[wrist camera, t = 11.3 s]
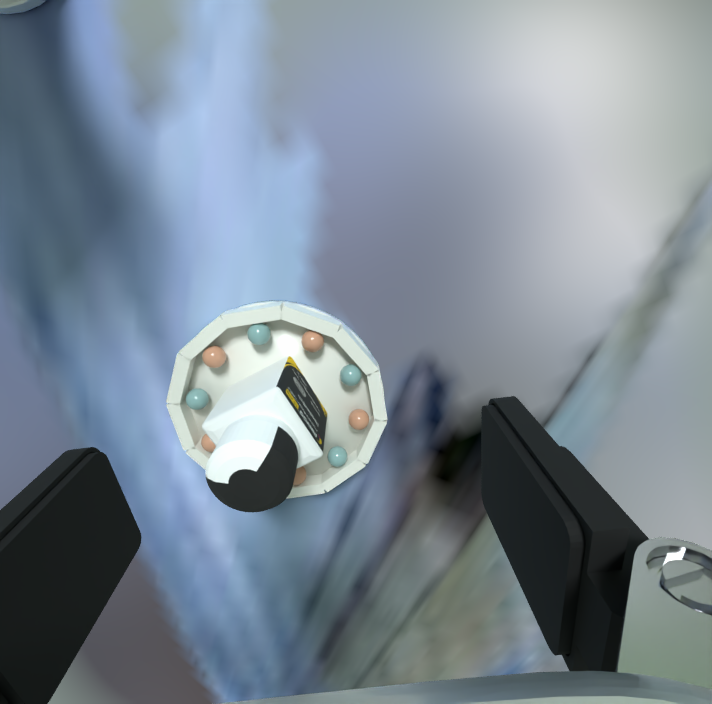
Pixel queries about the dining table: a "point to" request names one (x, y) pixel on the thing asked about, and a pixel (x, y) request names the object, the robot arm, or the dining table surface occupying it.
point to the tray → (314, 359)
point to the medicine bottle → (263, 436)
